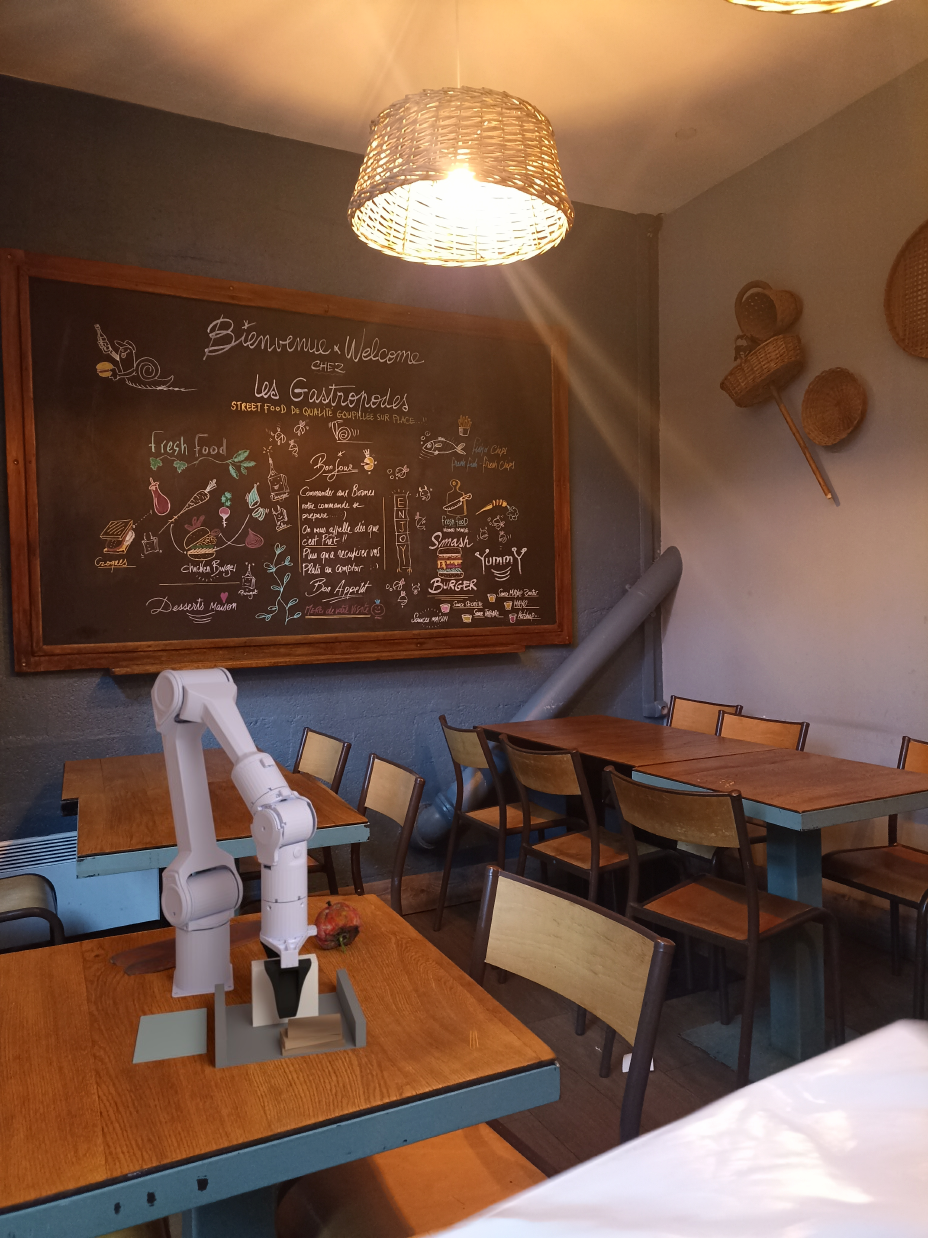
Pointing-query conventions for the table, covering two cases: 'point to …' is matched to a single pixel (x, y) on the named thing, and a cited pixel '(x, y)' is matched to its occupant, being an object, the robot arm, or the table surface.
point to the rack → (280, 1027)
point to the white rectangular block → (265, 998)
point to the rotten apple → (337, 925)
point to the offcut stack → (312, 1034)
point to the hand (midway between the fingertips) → (284, 1003)
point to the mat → (171, 1035)
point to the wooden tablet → (165, 951)
